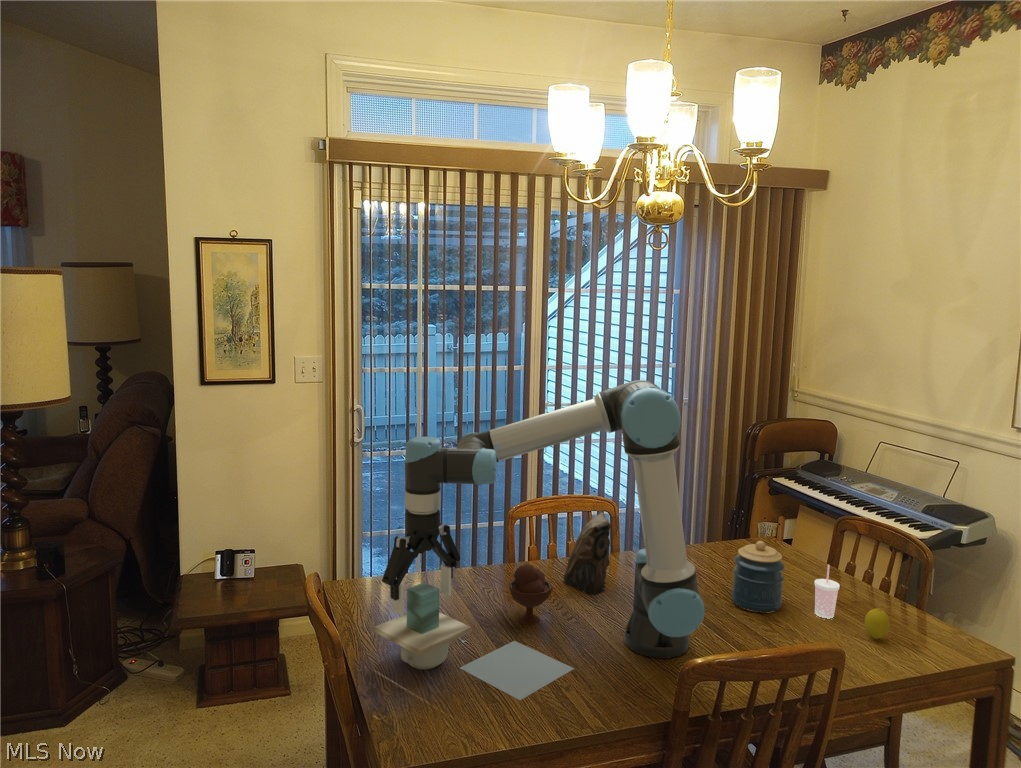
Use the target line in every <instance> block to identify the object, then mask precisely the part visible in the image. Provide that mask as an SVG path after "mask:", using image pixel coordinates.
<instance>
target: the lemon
mask: <svg viewBox="0 0 1021 768" xmlns="http://www.w3.org/2000/svg"><path fill="white" fill-rule="evenodd" d="M890 625H891V623H890V618H889V616H888V614H887V612H885V611H884V610H882V609H881V608H880V607H877V608H873V609H871V610H869V611H868V612H867V613H866V615H865V617H864V628H865V631H866V633H867V634H868V635H869V636H870V637H872V638H873V639H874V640H878V639H883V638H884V637H885V636H886V635H888V633H889V630H890Z"/></svg>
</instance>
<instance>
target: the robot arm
mask: <svg viewBox="0 0 1021 768" xmlns="http://www.w3.org/2000/svg"><path fill="white" fill-rule="evenodd" d="M680 411H681V410H680V408H679V406H678V404H677V402H676V400H675V399H674V398H673V396H672V395H671V394H669V393H668V392H667V391H665V390H664V389H661V387H659V386H658V385H657V384H655V383H654V382H651V381H648V380H645V379H643V380H641V379H638V380H637V379H636V380H632V381H628V382H625V383H623V384H619V385H617V386H615V387H611V388H608V389H606V390H602V391H600V392H596V394H595V397H593V398H591V399H588V400H585V401H582V402H578V403H576V404H575V403H574V404H571V405H568V406H564V407H562V408H559V409H555V410H552V411H549V412H545V413H542V414H538V415H535V416H531V417H529V418H526V419H525V418H524V419H522V420H519V421H516V422H513V423H509V424H506V425H502V426H498V427H495V428H492V429H489V430H486V431H482V432H473V431H472V432H469V433H467V434H465V435H464V436H462V437H461V438H460V439H459V441H458V442H457V445H456V447H455V448H449V447H447V448H446V447H442V443H441V440H440V439H439V438H437V437H435V436H431V437H430V436H418V437H411V438H409V440H407V442H406V443H405V455H404V456H405V458H404V476H405V477H404V480H405V481H404V483H405V484H404V487H405V488H404V489H405V490H404V491H405V492H404V493H405V495H404V497H405V499H404V500H405V502H404V503H405V504H404V505H405V509H406V510H405V513H404V516H405V517H404V525H405V528H406V535H405V536H402V537H401V536H395V537H394V540H393V548H392V550H391V551H392V552H391V554H390V557H389V560H388V561H387V564H386V568H385V571H384V573H383V576H382V579H381V582H382V583H384V584H385V585H388V586H390V587H389V589H390V593H389V594H390V595H389V596H390V599H392V612H394V613H396V614H398V615H400V616H402V615H405V614H404V613H405V610H404V609H405V607H404V604H405V602H404V599H405V598H404V595H405V593H404V591H405V590H404V586H405V585H404V584H403V583H402V581H403V580H404V578H405V576H406V574H407V572H408V571H409V569H410V567H411V565H412V564H413V562H414V560H415V559H417V558H418V556H419V554H423V553H425V552H429V551H433V552H434V553H435V555H436V556H437V557H438V558H439V559H440V560H441V562H442V563H443V564H440V583H439V584H440V588H439V594H440V593H441V594H443V595H445V596H448V597H450V596H452V580H453V577H454V568H456V567H457V564H458V562H460V561H461V556H460V553H459V551H458V549H457V545H456V544H455V542H454V539H453V537H452V535H451V528H450V525H448V524H445V523H443V522H441V510H440V509H441V484H452V485H453V484H454V485H455V484H457V485H460V484H461V485H478V486H481V485H490V484H491V485H492V484H494V483H495V482H496V480H497V463H499V462H502V461H505V460H508V459H512V458H515V457H519V456H522V455H525V454H528V453H529V454H530V453H531V452H535V451H539V450H541V449H542V450H543V449H546V448H548V447H551V446H552V447H553V446H555V445H559V444H562V443H565V442H568V441H572V440H575V439H579V438H582V437H585V436H590V435H591V434H592V435H593V434H595V433H599V432H602V431H605V432H607V433H609V434H612V433H614V432H619V431H621V435H622V436H621V437H622V442H623V448H624V449H623V450H624V454H626V455H627V456H628V457H630V458H631V459H632V462H633V463H632V464H633V469H634V476H635V477H634V478H635V486H636V492H637V499H638V506H639V514H640V523H641V530H642V537H643V543H644V544H643V546H644V548H641V549H639V550H638V551H637V552H636V556H635V561H634V564H635V566H634V567H635V568H634V588H633V591H634V593H633V606H632V607H633V608H632V611H631V614H630V616H629V619H628V622H627V624H626V626H625V629H624V636H623V641H624V643H625V645H626V647H628V648H629V649H630V650H631V651H633V652H634V653H637V654H639V655H642V656H646V657H650V658H657V659H672V657H673V658H677V657H679V656H678V655H680V656H682V655H681V654H683V653H684V654H685V653H686V652H687V651H688V650H689V645H690V644H689V643H690V642H689V641H690V638H689V635H690V634H692V633H694V632H695V631H696V630H697V629H698V628H699V627H700V626H701V624H702V622H703V621H704V618H705V615H706V614H705V613H706V611H705V609H706V608H705V603H704V600H703V599H702V597H701V595H700V594H699V588H698V579H697V574H696V567H695V564H693V563H692V562H690V561H689V560H688V557H687V550H686V544H685V543H686V542H685V534H684V528H683V527H684V526H683V519H682V518H683V517H682V511H681V510H682V509H681V503H680V502H681V501H680V495H679V487H678V479H677V470H676V464H675V463H676V462H675V453H676V452H677V451H678V450H679V448H680V437H679V435H680V434H679V430H680V427H681V421H682V419H681V412H680ZM438 537H439V538H440V539H441V542H442V544H443V546H444V548H443V546H442V544H441V542H440V541H438ZM411 550H412V551H411ZM687 649H688V650H687ZM684 654H683V655H684ZM676 656H677V657H676Z"/></svg>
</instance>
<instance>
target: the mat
mask: <svg viewBox="0 0 1021 768" xmlns="http://www.w3.org/2000/svg"><path fill="white" fill-rule="evenodd" d="M459 669H460V670H461V671H464V672H466V673H468V674H470V675H471V676H473V677H475V678H477V679H479V680H481V681H483V682H484V683H486V684H488V685H491V687H494V688H495V689H498V690H499V691H501V692H503V693H505V694H507V695H509V696H510V697H513V698H514V699H516V700H518V701H521V700H523V699H526V698H527V697H529V696H531V695H532V694H533V693H535V692H537V691H539V690H541V689H542V688H544V687H545V686H547V685H549V684H551V683H552V682H555V681H556V680H558V679H559V678H562V677H563V676H564V675H566V674H567V673H570V672H572V671H573V670H575V668H574V667H572V666H570V665H568V664H565V663H563V662H562V661H559V660H557V659H555V658H553V657H550V656H549V655H546V654H544V653H542V652H540V651H538V650H536V649H533V648H531V647H529V646H528V645H525V644H523V643H520V642H518V641H516V640H513V641H511V642H509V643H507V644H505V645H503V646H501V647H499V648H497V649H495V650H492V651H491V652H489V653H487V654H485V655H483V656H481V657H479V658H476V659H474V660H473V661H471V662H469V663H467V664H464V665H463V666H460V667H459Z"/></svg>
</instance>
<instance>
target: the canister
mask: <svg viewBox="0 0 1021 768" xmlns="http://www.w3.org/2000/svg"><path fill="white" fill-rule="evenodd" d="M737 553H738V554H737V555H735V556H734V559H733V562H735V567H734V568H733V571H732V573H733V583H732V590H731V600H733V601H732V603H733V602H734V603H735V604H737V605H738V606H740V607H742V608H745V609H749V610H753V611H759V612H760V611H761V612H771V611H776V610H778V609H779V608H780V609H781V606H782V603H783V597H782V596H783V594H782V593H783V585H784V584H783V582H784V579H785V577H784V574H783V571H784V570H785V567H786V564H785V563H784V562H783V560H782V559H783V555H782V554H781V553H780V552H779V551H777V549H775V548H774V547H771V546H768V545H766V543H765V542H764V541H763V540H758V541H756V543H755V544H754V543H752V544H751V543H749V544H747V545H744V546H741V547H740V548H739V549H738V550H737ZM734 603H733V604H734ZM735 604H734V605H735ZM738 606H737V607H738ZM740 607H739V608H740ZM742 608H741V609H742ZM780 609H779V610H780ZM779 610H778V611H779ZM776 612H777V611H776Z"/></svg>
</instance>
